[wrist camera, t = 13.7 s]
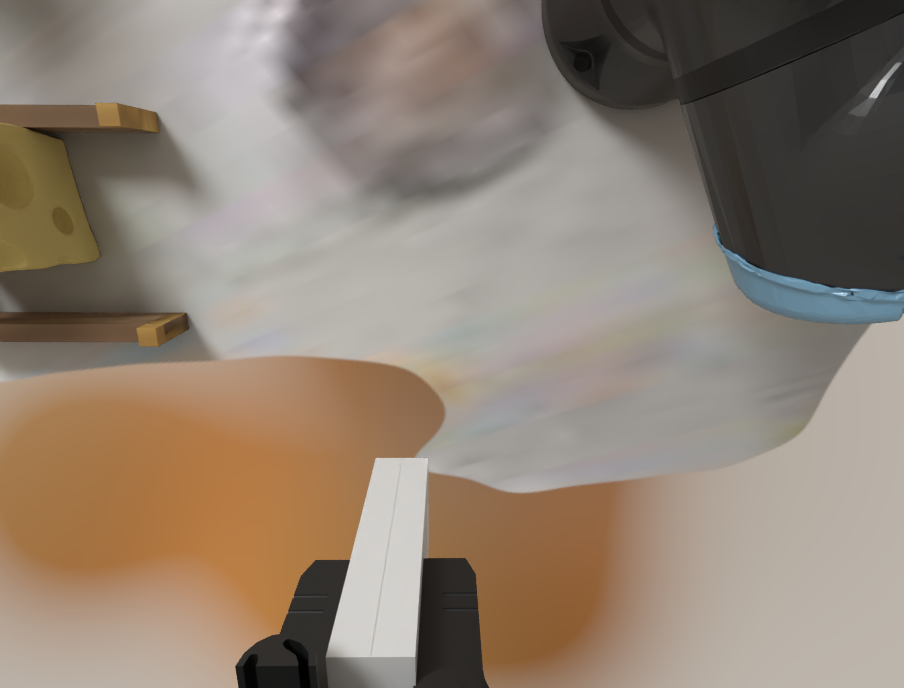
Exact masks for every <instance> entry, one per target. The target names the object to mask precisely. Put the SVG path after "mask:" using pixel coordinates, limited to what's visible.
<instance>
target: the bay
mask: <svg viewBox="0 0 904 688" xmlns="http://www.w3.org/2000/svg"><path fill="white" fill-rule="evenodd" d="M0 123H6V124H11V125H15V126H19V127H23V128H26V129H29V130H32V131H35V132H142V133H159V129H158V122H157V115H156V112H152V111H148V110H144V109H139V108H135V107H131V106H127V105H122V104H118V103H96V105H0ZM188 329H189V327H188V321H187V314H186V313H64V312H0V342H139V345H140V346H160V345H162V344H163V343H165V342H167V341H169V340H170V339H172V338H174V337H176V336H177V335H179V334H181V333H183V332H184V331H186V330H188Z"/></svg>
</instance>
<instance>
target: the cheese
mask: <svg viewBox="0 0 904 688" xmlns="http://www.w3.org/2000/svg"><path fill="white" fill-rule="evenodd" d="M99 257H100V252H99V249H98V246H97V243H96V241H95V239H94V236H93V234H92V232H91V229H90V227H89V224H88V221H87V218H86V215H85V212H84V209H83V205H82V202H81V199H80V196H79V193H78V190H77V187H76V183H75V180H74V177H73V173H72V170H71V167H70V163H69V159H68V156H67V152H66V149H65V146H64V143H63V141H62V140H61V139H58V138H53V137H50V136H47V135H44V134H41V133H38V132H35V131H32V130H29V129H26V128H23V127H19V126H15V125H11V124H6V123H0V272H6V271H14V270H30V269H42V268H48V267H53V266H56V265H60V264H78V263H87V262H92V261H94V260H96V259H98V258H99Z"/></svg>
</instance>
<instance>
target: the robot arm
mask: <svg viewBox="0 0 904 688" xmlns="http://www.w3.org/2000/svg"><path fill="white" fill-rule="evenodd" d="M542 22H543V29H544V34H545V38H546V42H547V45H548V48H549V50H550V53H551V55H552V57H553V59H554V61H555V63H556V65H557V67H558V68H559V70H560V71H561V73H562V74H563V76H564V77H565V78H566V79H567V80H568V82H569V83H570V84H571V85H572V86H573V87H574V88H576V89H577V90H578V91H579V92H581V93H582V94H583V95H585V96H586V97H588V98H589V99H591V100H593V101H595V102H597V103H600V104H602V105H605V106H609V107H613V108H618V109H630V110H631V109H644V108H649V107H653V106H657V105H660V104H663V103H666V102H668V101H671V100H674V99H676V98H678V97H679V100H680V105H681V109H682V112H683V115H684V119H685V122H686V126H687V129H688V132H689V136H690V139H691V142H692V146H693V149H694V153H695V156H696V159H697V163H698V166H699V170H700V173H701V176H702V180H703V183H704V187H705V190H706V193H707V197H708V200H709V204H710V207H711V210H712V214H713V217H714V221H715V224H714V227H713V230H714V236H715V240H716V242H717V244H718V246H720V248H721V250H722V252H723V253H724V254H725V256H726V259H727V262H728V265H729V268H730V271H731V274H732V277H733V279H734V282H735V284H736V285H737V287H738V288H739V289H740V290H741V291H742V292H743V293H744V295H745V296H746V297H747V298H748V299H750V300H751V301H752V302H753V303H755V304H756V305H758V306H760V307H762V308H764V309H766V310H768V311H770V312H773V313H776V314H779V315H782V316H785V317H789V318H793V319H798V320H804V321H810V322H818V323H830V324H870V323H881V322H890V321H898V320H899V319H900V318H901V317H902V314H903V313H904V0H542ZM428 500H429V499H428V458H376V460H375V464H374V468H373V472H372V476H371V480H370V484H369V488H368V492H367V496H366V500H365V504H364V508H363V512H362V516H361V519H360V523H359V528H358V531H357V535H356V539H355V543H354V547H353V551H352V555H351V559H350V560H315V561H314V562H313V564H312V565H311V566H310V567H309V568H308V569H307V570H306V571H305V572H304V573H303V575H301V577H300V580H299V583H298V585H297V588H296V591H295V594H294V598H293V599H292V602H291V605H290V608H289V610H288V611H289V612H288V614H287V615H286V618H285V621H284V624H283V626H282V629H281V632H280V634H278V635H272V636H270V637H267V638H265V639H263V640H261V641H259V642H257V643H256V644H254V645H253V646H252V647H251V648H250V649H248V650H247V651H246V652H245V653H244V654H243V656H242V657H241V659H240V660H239V662H238V663H237V665H236V666H235V667H236V674H237V680H238V687H239V688H489V687H488V685H487V683H486V681H485V678H484V673H483V666H482V654H481V640H480V628H479V627H480V626H479V614H478V601H477V586H476V574H475V572H474V571H473V569H472V568H471V566H470V564H469V563H468V561H467V560H466V558H428V546H429V501H428Z"/></svg>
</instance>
